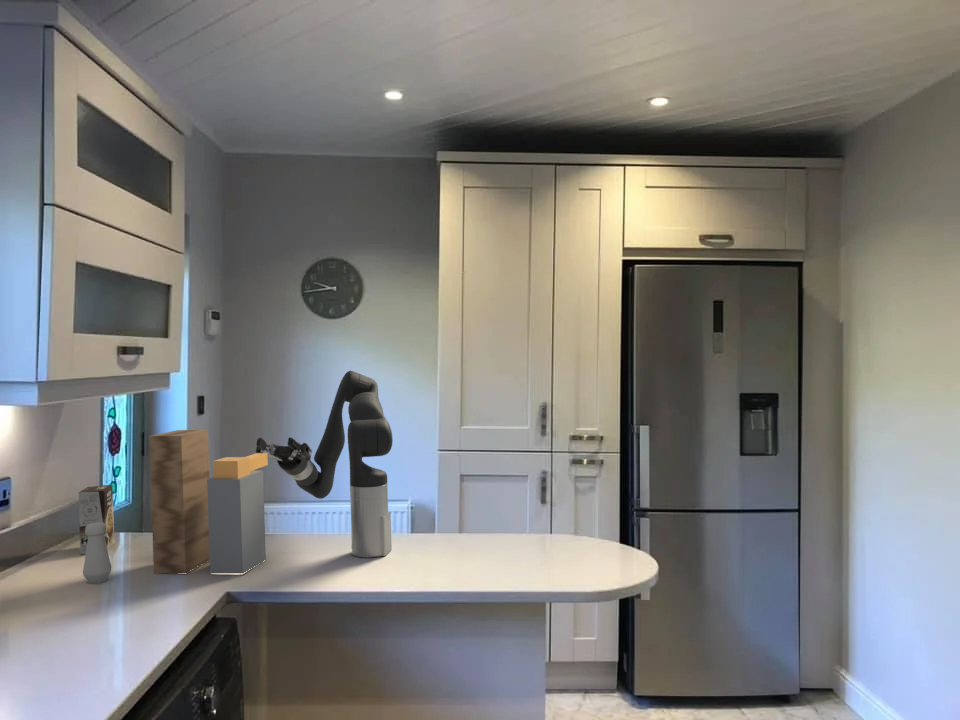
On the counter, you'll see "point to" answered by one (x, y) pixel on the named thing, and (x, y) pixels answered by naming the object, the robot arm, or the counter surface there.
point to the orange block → (238, 465)
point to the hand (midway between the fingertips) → (274, 440)
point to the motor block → (236, 523)
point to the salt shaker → (96, 554)
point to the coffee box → (96, 512)
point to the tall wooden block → (179, 500)
